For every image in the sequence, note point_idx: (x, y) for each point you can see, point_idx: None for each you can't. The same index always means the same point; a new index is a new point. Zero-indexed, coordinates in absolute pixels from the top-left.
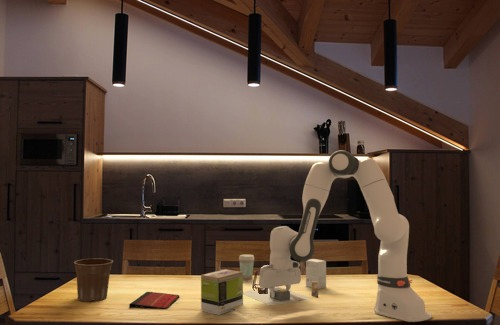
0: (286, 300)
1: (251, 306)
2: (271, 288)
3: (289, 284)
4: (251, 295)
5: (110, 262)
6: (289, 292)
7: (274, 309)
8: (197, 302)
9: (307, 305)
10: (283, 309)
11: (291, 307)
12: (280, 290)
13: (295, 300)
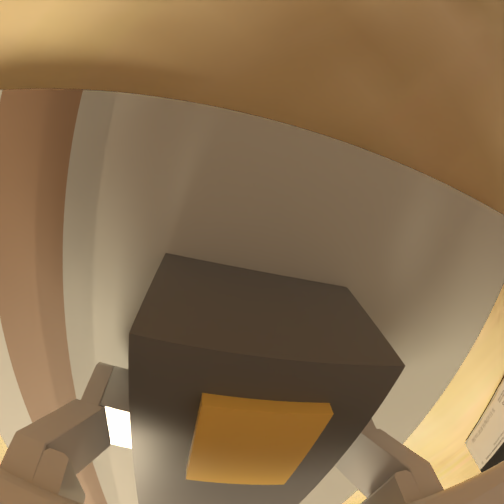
0: (251, 257)
1: (479, 363)
2: (429, 482)
3: (35, 493)
4: (328, 496)
5: None
6: (156, 321)
7: (487, 192)
8: (470, 467)
9: (89, 19)
10: (447, 118)
11: (327, 85)
12: (296, 451)
13: (132, 158)
